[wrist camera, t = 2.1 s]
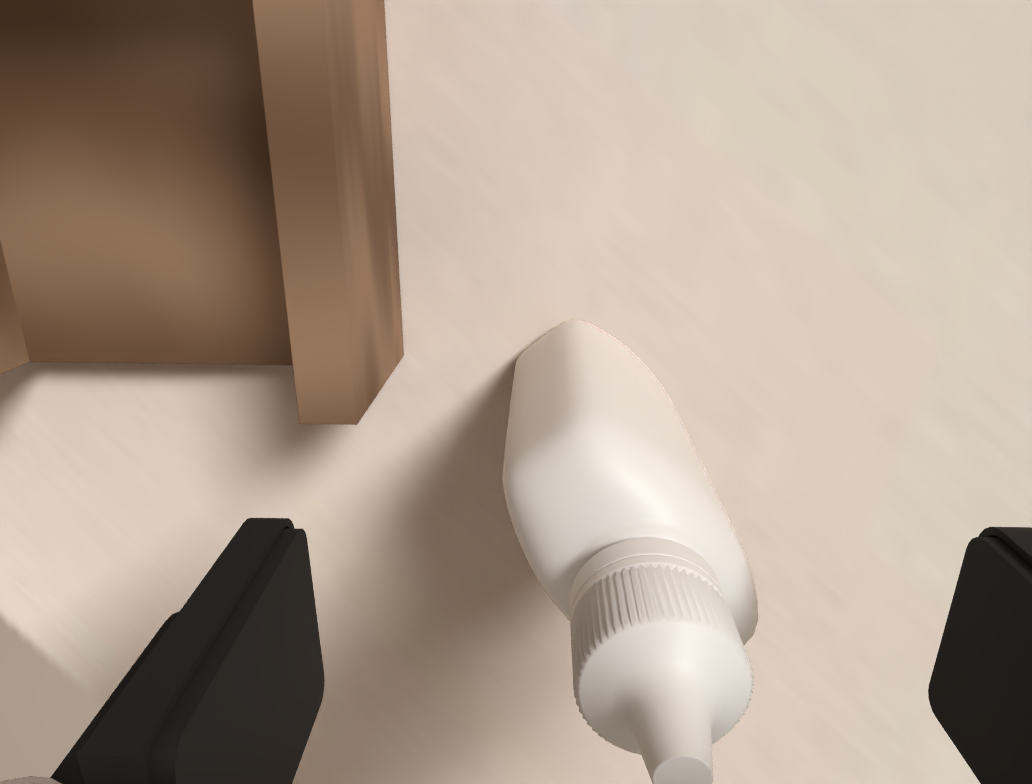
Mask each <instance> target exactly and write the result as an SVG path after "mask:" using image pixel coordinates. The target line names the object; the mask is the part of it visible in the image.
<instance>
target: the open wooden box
mask: <svg viewBox="0 0 1032 784" xmlns="http://www.w3.org/2000/svg"><path fill="white" fill-rule="evenodd" d="M403 356H404V352H403V333H402V315H401V297H400V279H399V261H398V243H397V225H396V207H395V189H394V171H393V153H392V135H391V116H390V98H389V80H388V62H387V44H386V26H385V8H384V0H0V374H1V373H4V372H6V371H8V370H11V369H13V368H16V367H18V366H20V365H23V364H25V363H27V362H105V363H181V364H257V365H293V370H294V379H295V388H296V397H297V406H298V415H299V424H352V425H357V424H358V422H359V421H360V419H361V418H362V416H363V415H364V413H365V412H366V410H367V409H368V408H369V406H370V405H371V403H372V402H373V400H374V399H375V397H376V396H377V394H378V393H379V391H380V390H381V388H382V387H383V385H384V384H385V382H386V381H387V379H388V378H389V376H390V375H391V373H392V372H393V370H394V369H395V368H396V366H397V365H398V363H399V362H400V360H401V359H402V357H403Z"/></svg>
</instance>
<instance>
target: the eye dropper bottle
mask: <svg viewBox="0 0 1032 784" xmlns="http://www.w3.org/2000/svg"><path fill="white" fill-rule="evenodd" d="M502 480H503V489H504V494H505V499H506V504H507V508H508V511H509V515H510V518H511V521H512V524H513V527H514V530H515V533H516V536H517V538H518V541H519V543H520V545H521V548H522V550H523V552H524V554H525V557H526V559H527V561H528V563H529V564H530V566H531V568H532V570H533V572H534V574H535V575H536V577H537V579H538V580H539V582H540V584H541V585H542V587H543V588H544V590H545V591H546V593H547V594H548V595H549V597H550V598H551V600H552V601H553V602H554V604H555V605H556V606H557V607H558V608H559V610H560V611H561V612H562V613H563V614H564V616H565V617H566V618H567V619H568V620H569V621H570V626H571V646H572V666H573V686H574V695H575V698H576V704H577V705H578V706H579V712H581V713H582V714H583V718H584V719H585V720H586V721H587V724H588V725H589V726H590V727H592V730H593V731H595V732H596V733H598V735H599V736H601V737H602V738H604V739H605V740H606V741H608V742H610V743H612V744H613V745H615V746H617V747H619V748H621V749H624V750H626V751H630V752H633V753H636V754H641V755H642V757H643V760H644V762H645V765H646V768H647V770H648V773H649V775H650V778H651V780H652V783H653V784H712V782H713V766H712V744H713V743H715V742H716V741H718V740H719V739H721V738H722V737H723V736H725V735H726V734H727V733H728V732H729V731H730V730H731V729H732V728H734V727H735V725H736V724H737V723H738V722H739V721H740V718H741V717H742V716H743V715H744V712H745V710H746V709H747V708H748V703H749V702H750V700H751V699H750V696H751V695H752V693H753V692H752V687H753V685H754V684H753V682H752V680H753V675H752V667H751V665H750V660H749V658H748V655H747V653H746V650H745V648H744V645H745V644H746V642H747V641H748V640H749V639H750V638H751V637H752V636H753V634H754V632H755V628H756V625H757V621H758V603H757V596H756V590H755V585H754V581H753V577H752V573H751V570H750V567H749V564H748V561H747V558H746V556H745V553H744V551H743V548H742V546H741V543H740V541H739V539H738V537H737V534H736V532H735V530H734V528H733V526H732V524H731V522H730V520H729V517H728V515H727V513H726V511H725V509H724V507H723V505H722V503H721V501H720V499H719V497H718V495H717V492H716V490H715V488H714V486H713V484H712V482H711V480H710V478H709V476H708V474H707V472H706V470H705V468H704V466H703V464H702V462H701V460H700V458H699V455H698V453H697V451H696V449H695V447H694V445H693V443H692V441H691V439H690V437H689V435H688V433H687V431H686V429H685V427H684V425H683V423H682V421H681V419H680V417H679V415H678V412H677V410H676V408H675V407H674V405H673V403H672V401H671V399H670V397H669V396H668V394H667V393H666V391H665V389H664V388H663V386H662V385H661V383H660V382H659V381H658V379H657V378H656V377H655V375H654V374H653V373H652V372H651V370H650V369H649V368H648V367H647V366H646V365H645V364H644V363H643V362H642V361H641V360H640V359H639V358H638V357H637V356H636V355H635V354H634V353H633V352H632V351H631V350H630V349H628V348H627V347H626V346H625V345H624V344H622V343H621V342H619V341H618V340H617V339H615V338H614V337H612V336H611V335H609V334H608V333H606V332H605V331H603V330H601V329H600V328H598V327H596V326H594V325H592V324H590V323H588V322H586V321H583V320H576V319H571V320H568V321H565V322H563V323H561V324H559V325H558V326H556V327H555V328H553V329H552V330H551V331H549V332H548V333H547V334H545V335H544V336H543V337H541V338H540V339H539V340H537V341H536V342H535V343H533V344H532V345H531V346H530V347H528V348H527V349H526V350H525V351H523V352H522V354H521V355H520V356H519V358H518V359H517V361H516V366H515V373H514V380H513V387H512V395H511V402H510V410H509V418H508V426H507V434H506V443H505V453H504V465H503V478H502Z"/></svg>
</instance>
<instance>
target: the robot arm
mask: <svg viewBox="0 0 1032 784" xmlns="http://www.w3.org/2000/svg"><path fill="white" fill-rule="evenodd" d="M323 692H324V670H323V662H322V654H321V646H320V639H319V631H318V623H317V615H316V607H315V599H314V591H313V583H312V575H311V567H310V560H309V552H308V544H307V537H306V533H305V531H304V530H303V529H294V525H293V523H292V521H291V520H290V519H289V518H249V519H247V520H246V521H245V522H244V523H243V524H242V526H241V527H240V529H239V530H238V531H237V533H236V534H235V536H234V537H233V538H232V540H231V541H230V542H229V544H228V545H227V547H226V548H225V549H224V551H223V552H222V554H221V555H220V556H219V558H218V559H217V561H216V562H215V563H214V565H213V566H212V567H211V569H210V570H209V572H208V573H207V574H206V576H205V577H204V579H203V580H202V581H201V583H200V584H199V585H198V587H197V588H196V590H195V591H194V592H193V594H192V595H191V597H190V598H189V599H188V601H187V602H186V604H185V605H184V606H183V608H182V609H181V610H180V611H179V612H177V613H174V614H172V615H171V616H170V617H169V618H168V619H167V620H166V621H165V623H164V624H163V625H162V627H161V628H160V629H159V631H158V632H157V633H156V635H155V636H154V638H153V639H152V640H151V642H150V643H149V644H148V646H147V647H146V648H145V650H144V651H143V652H142V654H141V655H140V657H139V658H138V659H137V661H136V662H135V663H134V665H133V666H132V667H131V669H130V670H129V672H128V673H127V674H126V676H125V677H124V678H123V680H122V681H121V682H120V684H119V685H118V686H117V688H116V689H115V691H114V692H113V693H112V695H111V696H110V697H109V699H108V700H107V701H106V703H105V704H104V706H103V707H102V708H101V710H100V711H99V712H98V714H97V715H96V716H95V718H94V719H93V721H92V722H91V723H90V725H89V726H88V727H87V729H86V730H85V731H84V733H83V734H82V735H81V737H80V738H79V740H78V741H77V742H76V744H75V745H74V746H73V748H72V749H71V750H70V752H69V753H68V754H67V756H66V757H65V759H64V760H63V761H62V763H61V764H60V765H59V767H58V768H57V769H56V771H55V772H54V774H53V775H52V776H51V778H43V777H33V776H30V777H23V778H17V779H12V780H5V781H3V782H0V784H292V782H293V779H294V777H295V774H296V771H297V768H298V766H299V763H300V760H301V757H302V755H303V752H304V749H305V746H306V744H307V741H308V738H309V735H310V733H311V730H312V727H313V724H314V722H315V719H316V716H317V713H318V711H319V708H320V705H321V702H322V698H323ZM928 693H929V701H930V705H931V708H932V711H933V713H934V714H935V716H936V718H937V719H938V721H939V722H940V724H941V725H942V727H943V728H944V730H945V731H946V733H947V734H948V736H949V737H950V739H951V740H952V742H953V743H954V745H955V746H956V747H957V749H958V750H959V752H960V753H961V755H962V756H963V758H964V759H965V761H966V762H967V764H968V765H969V767H970V768H971V770H972V771H973V773H974V774H975V776H976V777H977V779H978V780H979V782H980V783H981V784H1032V528H1028V527H989V528H986V529H984V530H983V531H982V532H981V533H980V535H979V537H976V538H973V539H972V540H971V541H970V542H969V544H968V546H967V549H966V552H965V556H964V560H963V563H962V567H961V570H960V574H959V578H958V581H957V585H956V589H955V592H954V596H953V600H952V603H951V607H950V611H949V614H948V618H947V622H946V625H945V629H944V633H943V636H942V640H941V644H940V647H939V651H938V654H937V658H936V662H935V665H934V669H933V673H932V676H931V680H930V684H929V690H928Z"/></svg>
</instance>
